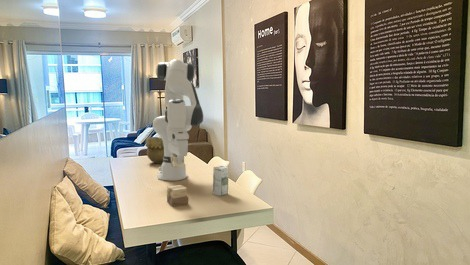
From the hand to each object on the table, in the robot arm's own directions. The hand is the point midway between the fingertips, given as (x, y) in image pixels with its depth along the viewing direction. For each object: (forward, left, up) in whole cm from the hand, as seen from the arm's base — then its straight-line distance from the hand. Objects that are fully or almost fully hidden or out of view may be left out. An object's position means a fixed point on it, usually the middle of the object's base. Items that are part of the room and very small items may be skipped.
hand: (177, 163), depth 167 cm
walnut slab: (0, 0, -20) cm, 20 cm away
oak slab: (0, 0, -16) cm, 16 cm away
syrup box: (-6, +25, -20) cm, 32 cm away
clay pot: (-102, +16, -20) cm, 105 cm away
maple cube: (0, 0, -2) cm, 2 cm away
